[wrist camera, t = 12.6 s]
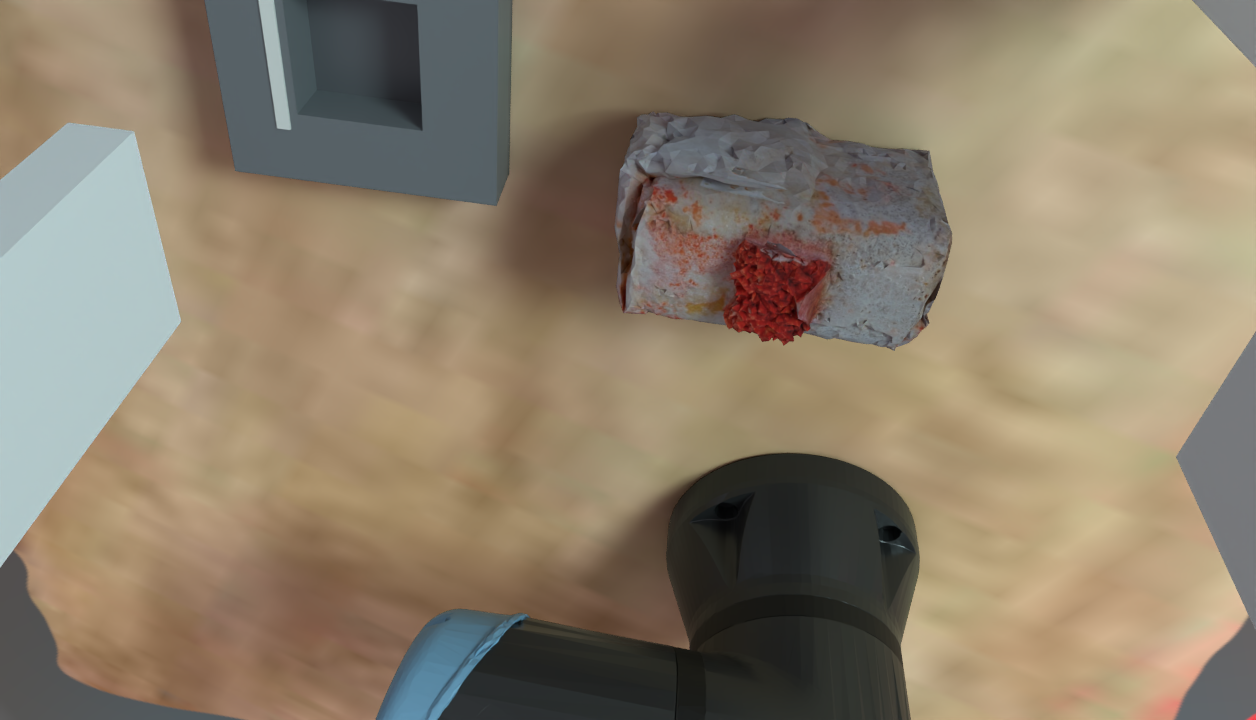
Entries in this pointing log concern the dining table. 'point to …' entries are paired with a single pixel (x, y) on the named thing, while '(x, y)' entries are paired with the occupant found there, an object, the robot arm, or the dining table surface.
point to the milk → (1234, 22)
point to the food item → (778, 230)
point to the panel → (369, 92)
